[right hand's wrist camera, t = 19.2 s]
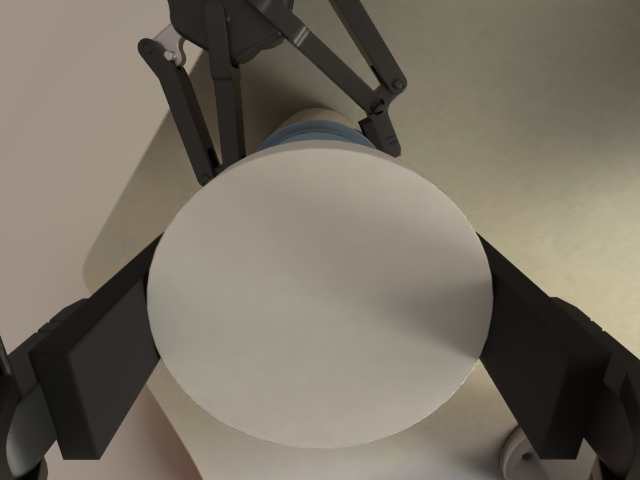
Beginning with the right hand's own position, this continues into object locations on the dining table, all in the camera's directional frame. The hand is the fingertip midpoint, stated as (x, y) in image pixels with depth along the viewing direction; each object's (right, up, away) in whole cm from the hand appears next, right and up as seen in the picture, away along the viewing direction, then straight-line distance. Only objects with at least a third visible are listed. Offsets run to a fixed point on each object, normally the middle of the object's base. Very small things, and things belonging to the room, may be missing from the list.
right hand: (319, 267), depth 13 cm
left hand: (+2, +2, +16) cm, 16 cm away
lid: (0, -1, -3) cm, 3 cm away
